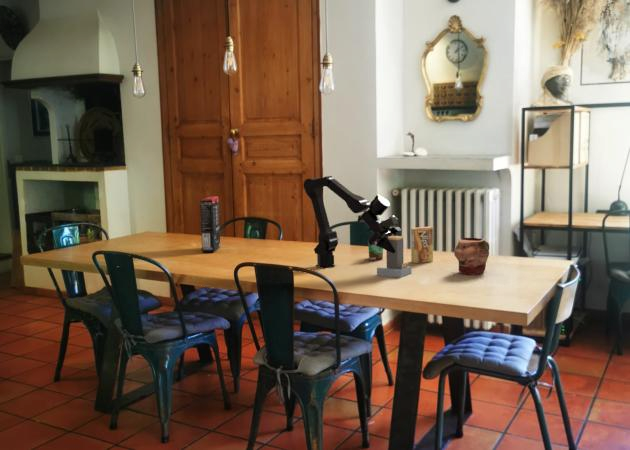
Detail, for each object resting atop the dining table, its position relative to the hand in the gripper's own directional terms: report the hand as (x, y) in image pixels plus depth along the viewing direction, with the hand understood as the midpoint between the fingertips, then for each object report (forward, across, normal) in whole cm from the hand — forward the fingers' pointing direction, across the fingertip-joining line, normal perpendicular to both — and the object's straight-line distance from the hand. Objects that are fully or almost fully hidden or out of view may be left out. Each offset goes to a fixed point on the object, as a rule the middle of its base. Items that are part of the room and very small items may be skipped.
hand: (397, 251), depth 268 cm
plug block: (+4, 0, +6) cm, 7 cm away
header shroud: (+5, 0, +8) cm, 10 cm away
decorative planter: (+24, +18, -11) cm, 32 cm away
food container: (-10, +24, +24) cm, 35 cm away
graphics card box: (-72, +7, +87) cm, 114 cm away
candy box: (+5, +28, +9) cm, 30 cm away
